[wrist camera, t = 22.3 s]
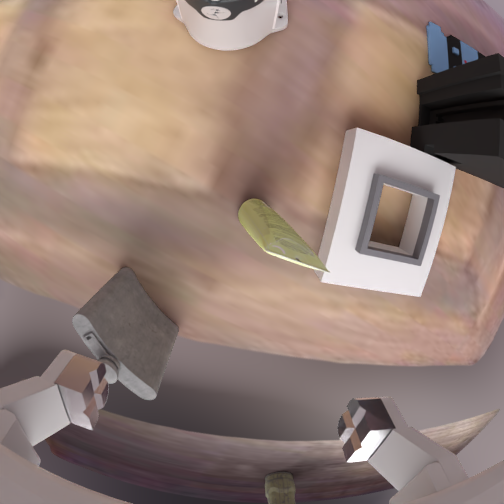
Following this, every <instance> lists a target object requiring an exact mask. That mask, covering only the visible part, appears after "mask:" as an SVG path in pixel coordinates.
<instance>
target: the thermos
mask: <svg viewBox="0 0 504 504" xmlns="http://www.w3.org/2000/svg"><path fill="white" fill-rule="evenodd" d="M265 482H266V483H265V494H266V497H267V499H268V504H295V498H294V495H295V485H294V481H293V475H292V474H291V473H289V472H274V473H271V474H269V475H267V476H266V477H265Z"/></svg>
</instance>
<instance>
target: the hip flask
mask: <svg viewBox="0 0 504 504" xmlns="http://www.w3.org/2000/svg"><path fill="white" fill-rule="evenodd" d="M72 323H73V326H74V328H75V329H76V331H77V332H78V334H79V336H80V337H81V339H82V340H83V341H84V343H85V344H86V345H87V347H88V348H89V349H90V350H91V352H92V353H93V354H94V355H95V357H96V358H97V359H98V360H97V361H99V362H102V363H104V364H105V367H106V374H105V376H104V378H105V379H106V380H107V381H108V383H114V382H116V380H117V379H118V380H119V381H120V382H121V383H122V384H124V385H125V386H126V387H127V388H128V389H130V390H131V391H132V392H134V393H135V394H137V395H138V396H139V397H141V398H143V399H146V400H153V399H155V398H156V395H157V392H158V389H159V386H160V383H161V380H162V377H163V374H164V371H165V369H166V365H167V363H168V360H169V357H170V354H171V351H172V348H173V346H174V343H175V340H176V337H177V334H178V331H179V329H178V326H177V325H176V324H175V323H173V322H172V321H171V320H170V319H169V318H168V317H167V316H166V315H165V314H164V313H163V312H162V311H161V310H160V309H159V308H158V307H157V306H156V305H155V304H154V302H153V301H152V300H151V299H150V297H149V296H148V295H147V293H146V292H145V290H144V289H143V288H142V286H141V284H140V283H139V281H138V279H137V277H136V275H135V273H134V272H133V270H132V269H130V268H128V267H124V268H122V269H121V270H120V271H119V272H118V273H117V274H115V275H114V276H113V277H112V278H111V279H110V280H109V281H108V282H107V283H106V284H105V285H104V286H103V287H102V288H101V289H100V290H99V291H98V292H97V293H96V294H95V295H94V296H93V297H92V298H91V299H90V300H89V301H88V302H87V303H86V304H85V305H84V306H83V307H82V308H81V309H80V310H79V311H78V312H77V313H76V314H75V315H74V316H73V319H72Z"/></svg>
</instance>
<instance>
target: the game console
mask: <svg viewBox="0 0 504 504" xmlns="http://www.w3.org/2000/svg"><path fill="white" fill-rule="evenodd" d="M426 29H427V41H428V61H429V65H431V71H432V72H434V73H436V74H433V75H431V76H428V77H425V78H423V79H420V80H417V94H419V95H420V107H419V124H418V126H416V127H412V134H411V144H410V147H412V148H415V149H417V150H419V151H422V152H424V153H427V154H429V155H431V156H433V157H436V158H438V159H440V160H442V161H444V162H446V163H449V164H451V165H453V166H455V167H456V169H459V170H461V171H464V172H467V173H469V174H472V175H474V176H477V177H479V178H481V179H484V180H486V181H488V182H491V183H493V184H495V185H497V186H500V187H502V188H504V57H503V56H501V55H500V54H499V53H498V54H494V55H491V56H487V57H485V56H484V55H482V54H481V53H479V52H478V51H476V50H475V49H473V48H472V47H470V46H468V45H467V44H465V43H464V42H462V41H460V40H459V39H457V38H455V37H453V36H452V35H450V36H448V37H445V36H444V33H442V32H441V27H439V26H438V25H436V24H434V23H432V22H429V26H428V25H427V26H426Z"/></svg>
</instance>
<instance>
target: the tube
mask: <svg viewBox="0 0 504 504" xmlns="http://www.w3.org/2000/svg"><path fill="white" fill-rule="evenodd" d="M238 218H239V221H240V223H241V224H242V226H243V227H244V228H245V230H246V231H247V232H248V233H249V234H250V236H251V237H252V238H253V239H254V240H255V242H256V243H257V244H258V245H259V246H260V247H261V248H262V249H263V250H264V251H265V252H267V253H269V254H271V255H273V256H276V257H278V258H281V259H284V260H287V261H290V262H293V263H296V264H299V265H302V266H305V267H308V268H312V269H316V270H321V271H323V272H327V273H330V271H328V270H327V268H326V267H325V266H324V264H323V263H322V261H321V260H320V259H319V258H318V256H317V255H316V254H315V253H314V252H313V251H312V249H311V248H310V247H309V246H308V245H307V244H306V243H305V241H304V240H303V239H302V238H301V237H300V236H299V235H298V234H297V233H296V232H295V231H294V230H293V229H292V227H291V226H290V225H289V224H288V223H287V222H286V221H285V220H284V219H283V218H281V217H280V216H279V215H278V214H277V213H276V212H275V211H274V210H273V209H272V208H270V207H269V206H268V205H267V204H266V203H265V202H263V201H261V200H259V199H250V200H247V201H245V202H244V203H243V204H242V205H241V207H240V209H239V212H238Z"/></svg>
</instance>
